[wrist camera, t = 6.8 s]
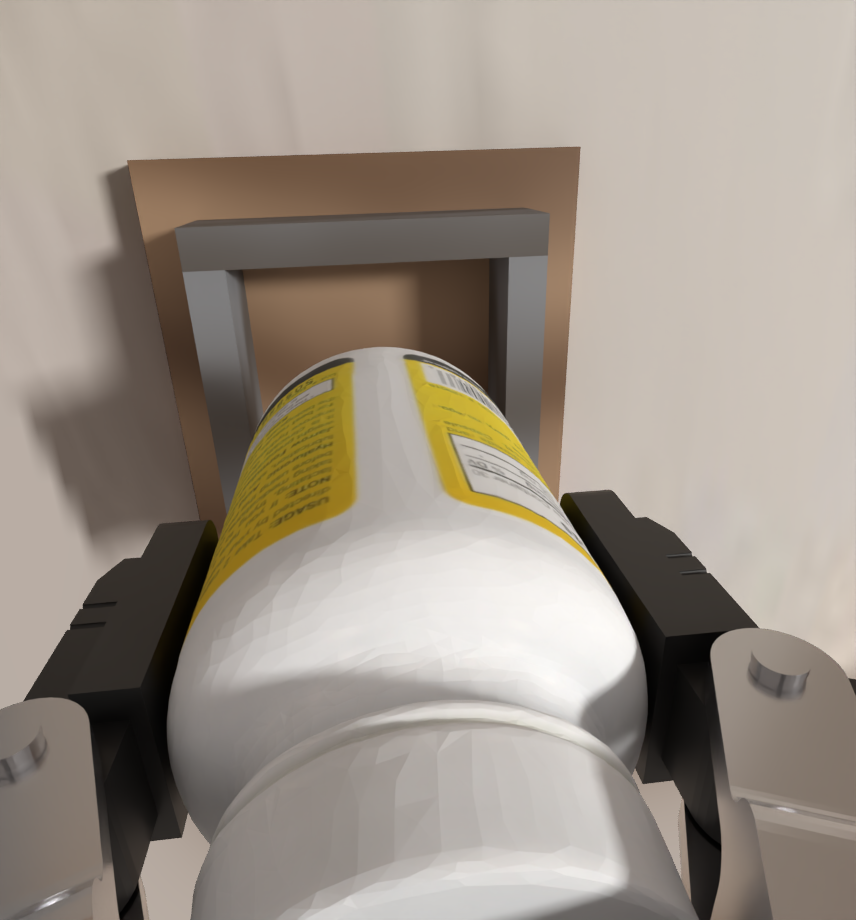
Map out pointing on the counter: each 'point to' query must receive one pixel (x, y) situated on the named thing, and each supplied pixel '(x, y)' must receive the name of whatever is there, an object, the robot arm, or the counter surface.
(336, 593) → the supplement bottle
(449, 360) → the socket base
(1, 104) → the counter surface
